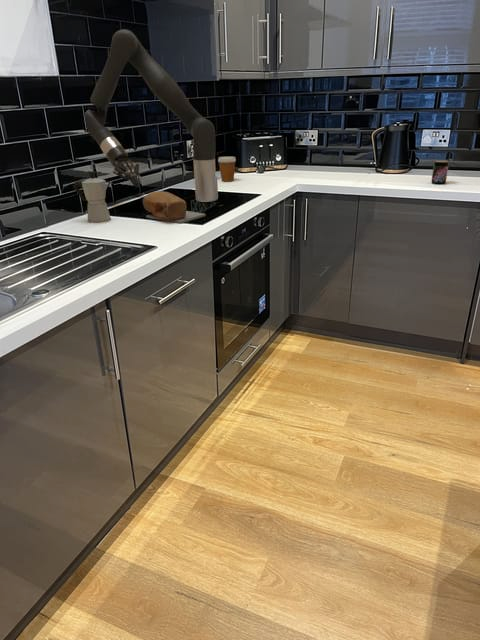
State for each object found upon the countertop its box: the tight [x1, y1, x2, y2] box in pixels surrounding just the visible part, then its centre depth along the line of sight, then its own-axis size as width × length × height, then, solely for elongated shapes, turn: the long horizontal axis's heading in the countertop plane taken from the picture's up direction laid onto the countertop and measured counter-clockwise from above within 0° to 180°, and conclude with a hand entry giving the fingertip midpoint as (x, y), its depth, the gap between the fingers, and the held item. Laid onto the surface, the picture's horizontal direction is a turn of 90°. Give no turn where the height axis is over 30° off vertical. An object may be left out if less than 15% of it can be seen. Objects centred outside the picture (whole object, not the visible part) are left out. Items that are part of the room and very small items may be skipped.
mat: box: [145, 210, 207, 225], centre depth 186 cm, size 14×18×1 cm
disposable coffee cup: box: [217, 156, 237, 183], centre depth 255 cm, size 10×10×12 cm
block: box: [142, 190, 187, 221], centre depth 183 cm, size 11×8×20 cm
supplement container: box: [430, 159, 450, 186], centre depth 234 cm, size 7×7×10 cm
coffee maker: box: [73, 170, 112, 224], centre depth 180 cm, size 15×9×18 cm, turn 74°
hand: (138, 185), depth 192 cm, fingers closed
